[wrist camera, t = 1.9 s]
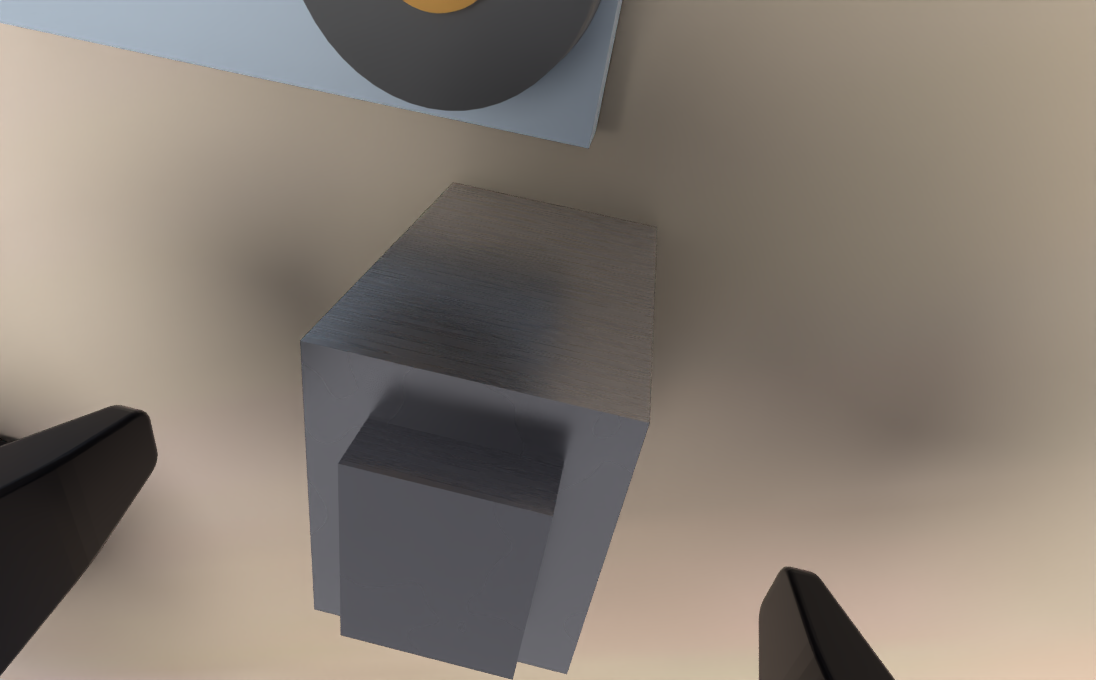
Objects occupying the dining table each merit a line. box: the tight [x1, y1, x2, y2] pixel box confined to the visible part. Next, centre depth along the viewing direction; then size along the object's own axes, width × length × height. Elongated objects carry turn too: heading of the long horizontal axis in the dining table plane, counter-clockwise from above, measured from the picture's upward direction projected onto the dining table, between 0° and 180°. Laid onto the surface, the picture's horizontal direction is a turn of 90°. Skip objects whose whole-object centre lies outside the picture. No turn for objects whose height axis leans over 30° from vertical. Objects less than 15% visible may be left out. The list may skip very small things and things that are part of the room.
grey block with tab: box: [300, 183, 657, 680], centre depth 10 cm, size 5×4×7 cm
